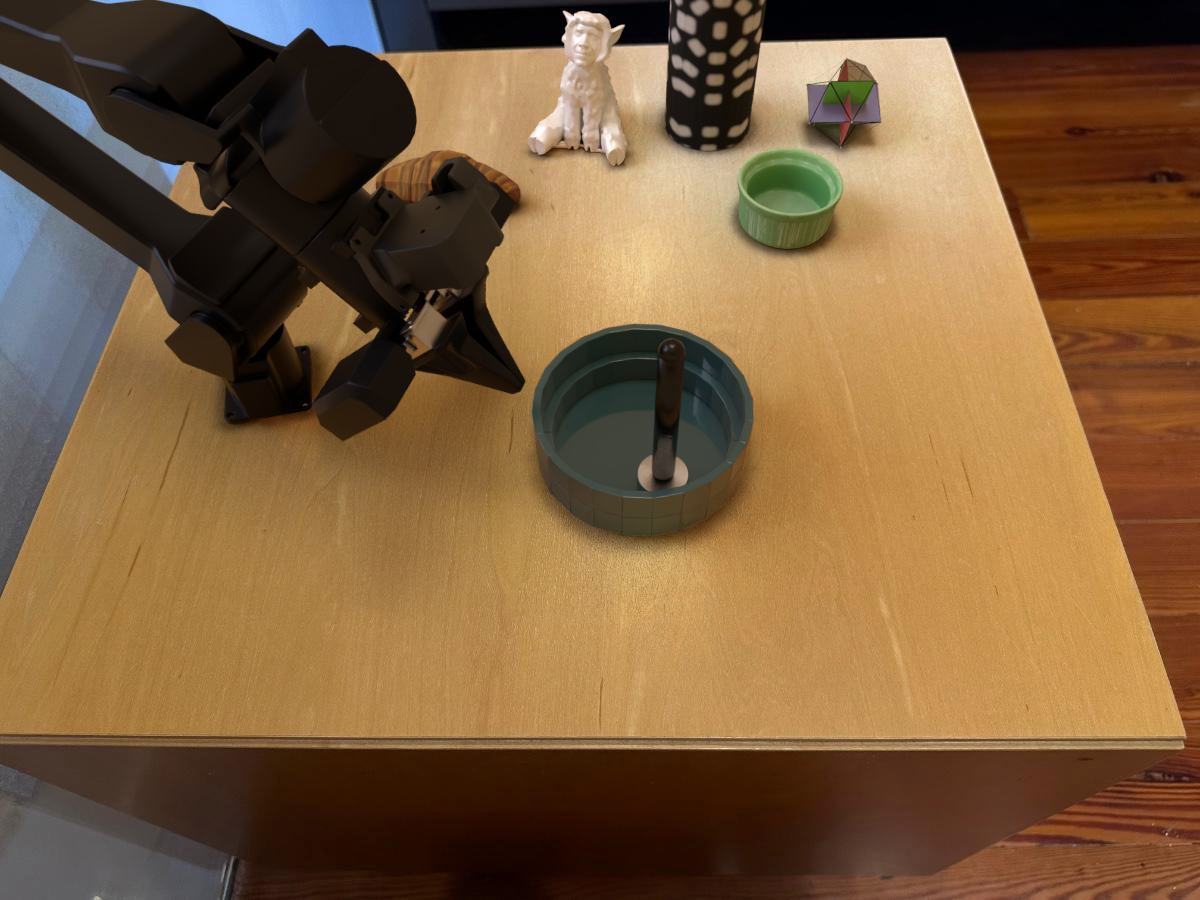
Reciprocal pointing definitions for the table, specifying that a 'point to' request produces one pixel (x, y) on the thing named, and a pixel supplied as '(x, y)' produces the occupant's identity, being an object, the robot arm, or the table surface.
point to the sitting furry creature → (585, 93)
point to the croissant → (418, 172)
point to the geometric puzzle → (845, 99)
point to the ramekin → (788, 197)
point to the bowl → (639, 429)
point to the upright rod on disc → (666, 423)
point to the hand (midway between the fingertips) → (519, 388)
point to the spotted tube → (712, 70)
